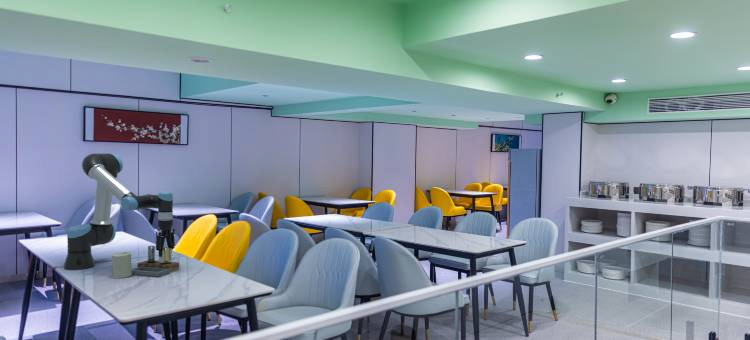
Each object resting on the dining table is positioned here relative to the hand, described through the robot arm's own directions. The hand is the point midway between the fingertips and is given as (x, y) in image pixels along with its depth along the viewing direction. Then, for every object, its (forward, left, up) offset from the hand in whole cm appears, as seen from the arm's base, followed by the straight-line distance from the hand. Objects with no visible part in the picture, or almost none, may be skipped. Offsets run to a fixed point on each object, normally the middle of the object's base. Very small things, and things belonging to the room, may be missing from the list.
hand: (165, 260), depth 292 cm
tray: (-2, -10, -5) cm, 12 cm away
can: (-13, -18, -5) cm, 23 cm away
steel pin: (-9, 0, -5) cm, 10 cm away
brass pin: (0, 0, -5) cm, 5 cm away
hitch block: (-4, 0, -5) cm, 7 cm away
